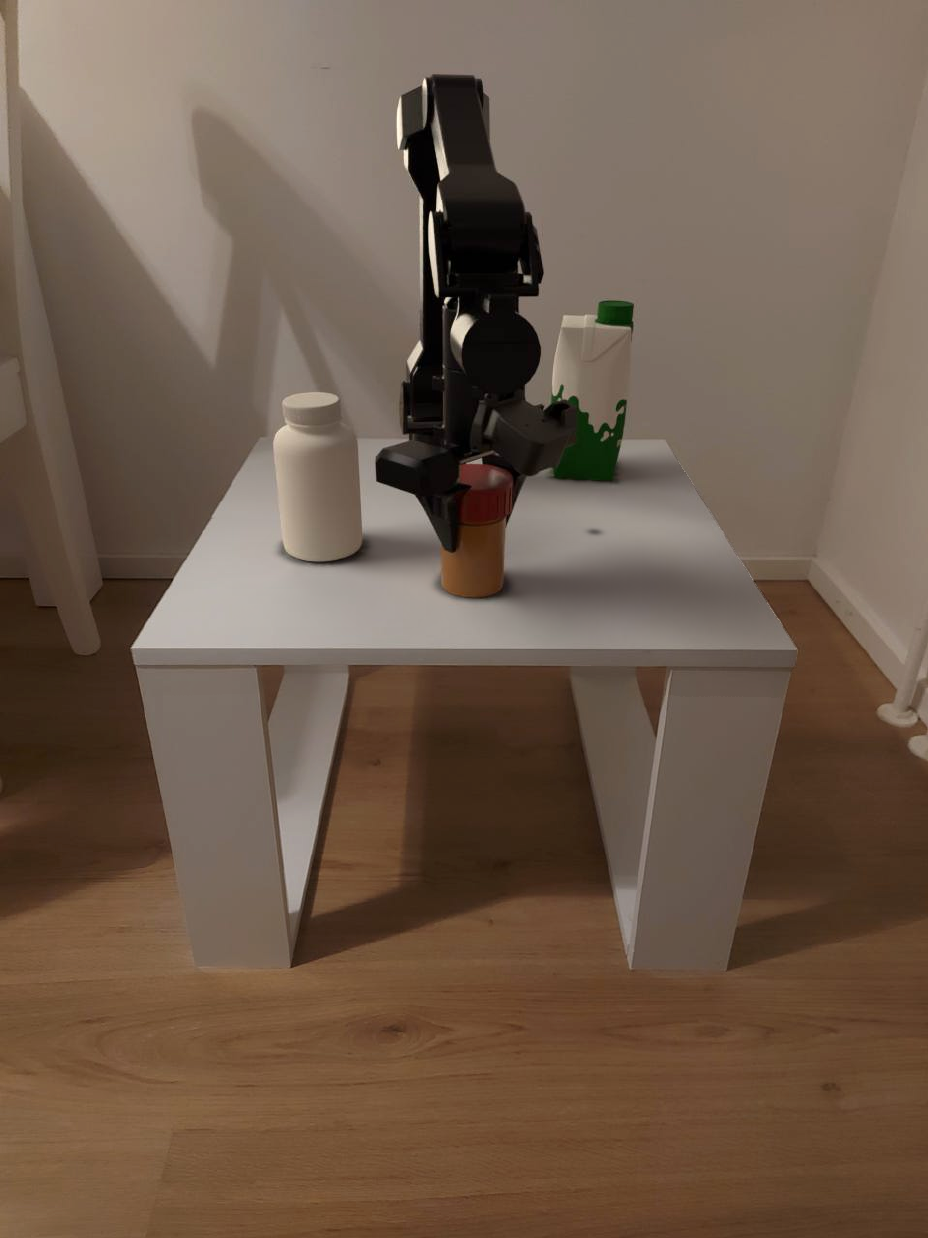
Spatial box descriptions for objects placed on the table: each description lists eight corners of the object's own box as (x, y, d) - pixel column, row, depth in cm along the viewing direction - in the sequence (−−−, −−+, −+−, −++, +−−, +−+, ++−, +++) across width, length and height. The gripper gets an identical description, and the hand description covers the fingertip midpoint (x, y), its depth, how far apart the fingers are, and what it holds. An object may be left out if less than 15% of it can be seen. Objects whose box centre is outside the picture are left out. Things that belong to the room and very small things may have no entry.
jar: (428, 583, 81) (427, 485, 76) (469, 564, 84) (471, 469, 80) (474, 604, 77) (477, 503, 73) (516, 583, 81) (520, 485, 76)
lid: (474, 488, 81) (475, 458, 80) (528, 508, 77) (530, 477, 76) (419, 506, 77) (418, 475, 76) (473, 529, 73) (473, 496, 72)
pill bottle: (267, 556, 85) (251, 404, 78) (307, 526, 92) (296, 384, 85) (340, 569, 83) (330, 414, 76) (376, 537, 90) (370, 392, 82)
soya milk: (619, 484, 104) (638, 310, 95) (544, 479, 105) (555, 307, 96) (618, 461, 112) (636, 297, 102) (548, 456, 113) (559, 294, 103)
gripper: (473, 403, 60) (471, 603, 68) (624, 362, 72) (608, 536, 80) (366, 377, 67) (375, 562, 74) (521, 344, 79) (515, 505, 86)
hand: (475, 540), depth 78 cm, fingers closed on lid, 6 cm apart
